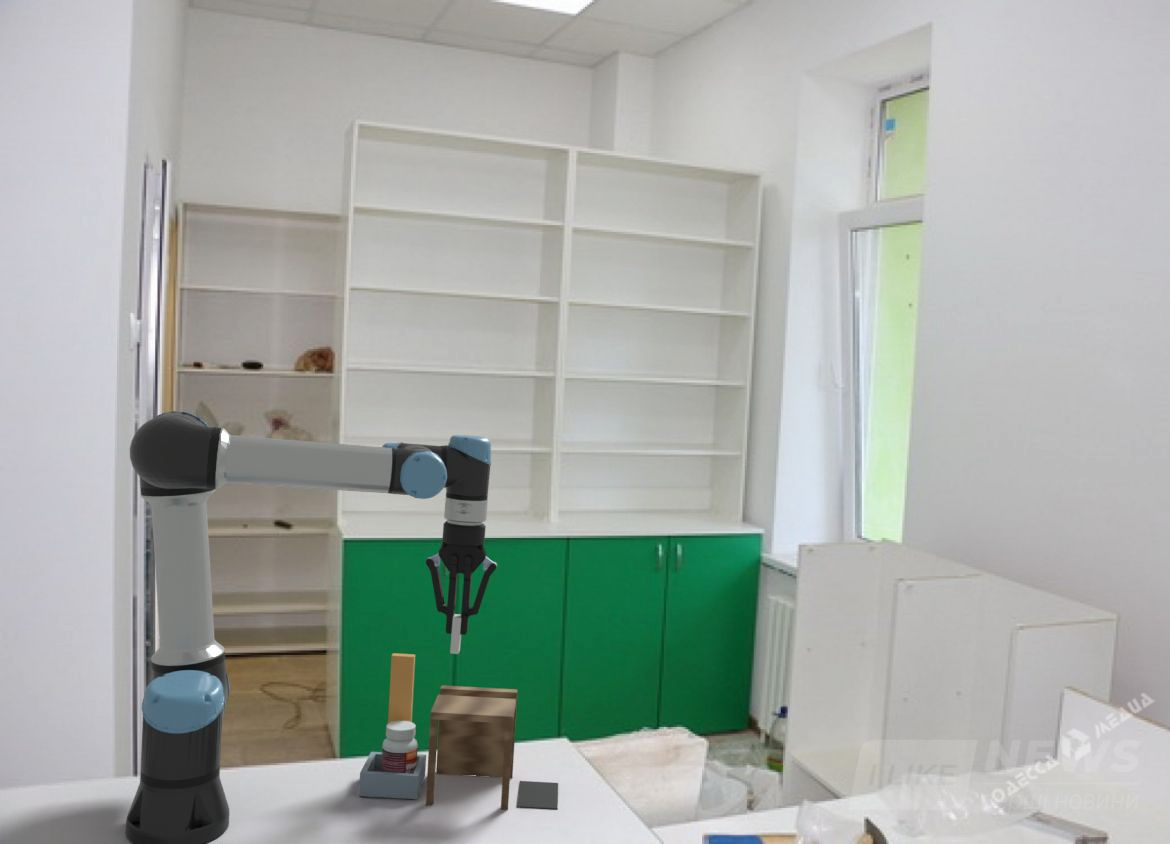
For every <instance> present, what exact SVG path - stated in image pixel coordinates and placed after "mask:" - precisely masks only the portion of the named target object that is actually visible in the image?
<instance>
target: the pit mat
mask: <svg viewBox="0 0 1170 844" xmlns="http://www.w3.org/2000/svg"><path fill="white" fill-rule="evenodd" d="M517 794H518V795H517V804H516V808H520V809H521V808H522V809H523V808H525V809H541V810H542V809H543V810H544V809H545V810H558V808H559V807H558V806H559V805H558V804H559V803H558V802H559V782H547V781H530V780H529V781H527V780H520V781H519V785H518V793H517Z"/></svg>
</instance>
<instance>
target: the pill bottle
mask: <svg viewBox="0 0 1170 844" xmlns="http://www.w3.org/2000/svg"><path fill="white" fill-rule="evenodd" d="M385 728H386V729H385V737H386V738H385V739H384V740H383V742H382V747H381V748H382V751H381V752H382V768H381V772H392V773H410V774H413V773H414V771H415V768H416V765H417V754H418V750H419V749H418V748H419V746H418V745H419V744H418V741H417V739H416V738H415V737H416V728H417V726H416V724H415V723H414V722H409V721H393V722H390V723H388V722H387V724H386V726H385Z"/></svg>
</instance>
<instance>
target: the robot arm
mask: <svg viewBox="0 0 1170 844" xmlns="http://www.w3.org/2000/svg"><path fill="white" fill-rule="evenodd" d="M491 447H492V444H491V441H490V440H489V438H487V437H486V436H485V437H484V436H479V435H478V436H477V435H470V434H469V435H467V434H465V435H463V434H462V435H461V434H454V435H452V436H450V439H449V442H448V445H447V444H445V445H434V444H433V445H431V444H419V443H405V442H403V441H402V442H385V443H384V444H383V445H382V446H371V445H361V444H360V445H358V444H347V443H346V444H345V443H333V442H320V441H309V440H308V441H307V440H296V439H285V438H272V437H259V436H246V435H233V434H230V433H229V432H228V430H226V429H225V428H224V427H217V426H209V425H208V423H206V422H205V421H204V420H203V419H202V418H201V417H199V416H197V415H195V414H193V413H190V412H186V411H176V410H174V411H167V412H165V411H164V412H163V413H161V414H157V415H156V416H155V417H153V418H151V419H149V420H148V421H146V422H145V423H143V424H142V425H141V426H140V427H139V428H138V429H137V430H136V432H135V433H134V435H133V437H132V439H131V441H130V446H129V459H130V462H131V465H132V468H133V469H134V470H133V471H135V473H136V474H137V475H138V477H139V486H140V487H139V488H140V489H139V490H140V497H141V498H142V499H143V500H145V501H146V502H147V503H148V504H149V505H150V506H151V507H150V508H151V520H152V521H151V522H152V535H153V536H152V537H153V550H154V552H153V553H154V567H155V568H154V569H155V582H156V584H155V585H156V599H157V601H156V602H157V615H158V631H159V648H157V650H156V651H155V652H154V653H153V655H151V657H150V659H151V660H150V663H151V678H152V680H151V681H150V682H149V683H148V684H147V686H146V688H145V690H144V694H143V699H142V702H141V711H142V728H141V729H142V730H141V748H140V749H141V752H140V755H141V756H140V773H139V774H140V776H139V784H138V787H137V789H136V791H135V792H136V793H135V795H134V798H133V800H132V803H131V805H130V807H129V808H130V809H129V811H128V813H127V816H126V820H125V837H126V838H127V840H128V841H129V842H131V843H132V844H206V843H208V842H211V841H214V840H215V839H217V838H219V837H220V836H222V835H223V834H224V833H225V832H226V831H227V829H228V828H229V826H230V807H229V803H228V800H227V797H226V793H225V789H224V787H223V784H222V780H221V778H220V777H221V776H220V774H221V773H220V772H221V770H220V769H221V752H222V749H221V748H222V734H223V733H222V730H223V729H222V728H223V722H224V716H225V710H226V706H227V703H228V700H229V696H230V689H231V687H230V678H229V677H228V673H227V668H226V652H225V651H226V650H225V647H224V646H223V645H222V644H220V642H218V641H217V640H216V639H215V626H214V625H215V624H214V623H215V621H214V607H213V593H212V592H213V591H212V589H213V588H212V573H211V558H210V539H209V537H210V536H209V524H208V523H209V522H208V520H209V519H208V507H207V504H208V503H207V502H208V500H209V498H210V497H211V496H212V495H213V494H214V493H215V492H216V490H219V489H220V488H222V487H223V486H224V485H226V484H231V485H233V484H236V485H250V486H251V485H253V486H266V487H267V486H268V487H281V488H282V487H283V488H297V489H298V488H299V489H312V490H314V489H315V490H326V491H327V490H329V491H330V490H331V491H344V492H346V491H347V492H362V493H374V494H375V493H379V494H390V495H403V496H410V497H413V498H414V499H420V500H422V499H423V500H425V499H431V498H434V497H435V496H437V495H438V494H440V493H441V492H442V491H443V489H445V499H444V501H445V503H444V515H443V518H444V520H446V521H444V523H443V528H442V539H441V540H442V541H441V546H440V548H439V550H438V553H436V554H435V555H433V556H428V557H427V559H426V560H425V564H426V567H427V569H428V570H429V572H430V575H431V582H432V587H433V593H434V600H435V605H436V606H435V607H436V610H437V612H438V613H442V614H444V615H445V616H446V620H445V621H446V622H445V633H446V634H447V635H448V634H449V635H451V637H450V638H451V640H450V651H449V652H450V654H454V655H459V653H460V651H461V642H462V635H463V636H466V635H467V632H468V628H469V618H470V616H475V615H478V614H479V611H480V608H481V606H482V605H481V604H482V602H483V599H484V596H485V593H486V589H487V587H488V585H489V581H490V577H491V576H492V574H493V573H494V572H495V570H496V569H497V567H498V563H497V562H496V561H495V560H494V561H493V560H491V559H490V558H489V557H488V556H487V551H486V549H485V542H486V541H485V540H486V539H485V538H486V528H487V527H486V525H485V523H484V522H486V521H487V513H488V504H489V503H488V501H489V499H488V496H489V486H490V475H491V474H490V473H491V465H492V461H491V458H492V452H491V451H492V448H491ZM441 561H442V563H443V565H444V566H445V567H446V568H445V569H446V570H447V571H448V572H449V575H448V576H449V578H448V580H449V581H448V590H447V591H448V593H447V604H446V601H445V596H444V590H443V589H444V588H443V585H442V577H441V571H440V565H441ZM482 563H483V567H482V570H483V571H484V573H483V575H482V577H481V580H480V584H479V587H478V590H477V593H476V596H475V599H474V602H473V605H472V606H471V591H472V580H473V579H472V578H473V574H474V572H475V571H476V570H477V569H478V568H479V567H480V565H482ZM459 574H463V584H462V585H463V586H462V587H463V588H462V597H461V598H462V601H461V611H460V612H461V613H460V614H459V613H458V614H457V613H455V611H456V604H457V603H456V601H457V591H458V589H457V586H458V576H459Z"/></svg>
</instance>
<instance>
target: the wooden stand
mask: <svg viewBox="0 0 1170 844" xmlns="http://www.w3.org/2000/svg"><path fill="white" fill-rule="evenodd" d="M439 689H440V692H439V694H437V696H436V699H435V701H434V703H433V706H432V708H431V711H430V719H429V738H428V739H429V740H428V753H427V754H428V756H427V758H428V759H427V773H426V775H427V776H426V795H425V807H426V806H427V807H428V806H429V807H433V806H434V801H435V785H436V775H443V774H444V775H446V776H447V775H448V776H462V775H476V776H475V777H480V776H489V777H488V778H498V777H502V778H501V779H502V781H501V798H500V800H501V801H500V811H508V809H509V800H510V799H509V798H510V785H511V784H510V782H511V779H513V772H514V759H515V758H514V757H515V756H514V755H515V741H516V725H517V723H516V722H517V706H518V705H517V704H518V703H517V702H518V691H519V690H518V689H515V688H511V689H510V688H498V687H497V688H494V687H477V686H476V687H475V686H459V685H441V686H440V688H439Z"/></svg>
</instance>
